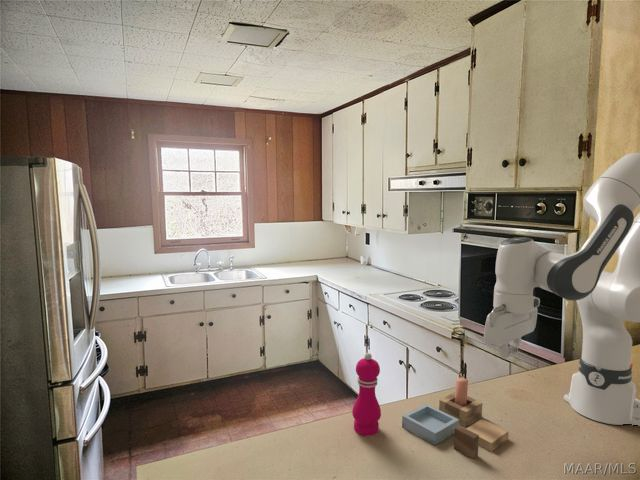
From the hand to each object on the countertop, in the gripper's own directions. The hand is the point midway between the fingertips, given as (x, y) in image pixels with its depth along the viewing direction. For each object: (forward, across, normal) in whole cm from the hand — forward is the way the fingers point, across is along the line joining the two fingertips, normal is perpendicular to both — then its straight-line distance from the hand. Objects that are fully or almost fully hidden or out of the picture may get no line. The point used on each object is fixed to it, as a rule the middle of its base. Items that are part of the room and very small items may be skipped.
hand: (508, 355), depth 106 cm
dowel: (+19, -4, +10) cm, 22 cm away
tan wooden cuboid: (+20, -9, 0) cm, 21 cm away
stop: (+19, -18, 0) cm, 26 cm away
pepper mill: (+19, -30, +21) cm, 41 cm away
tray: (+19, -16, +11) cm, 28 cm away
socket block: (+19, -4, +10) cm, 22 cm away
